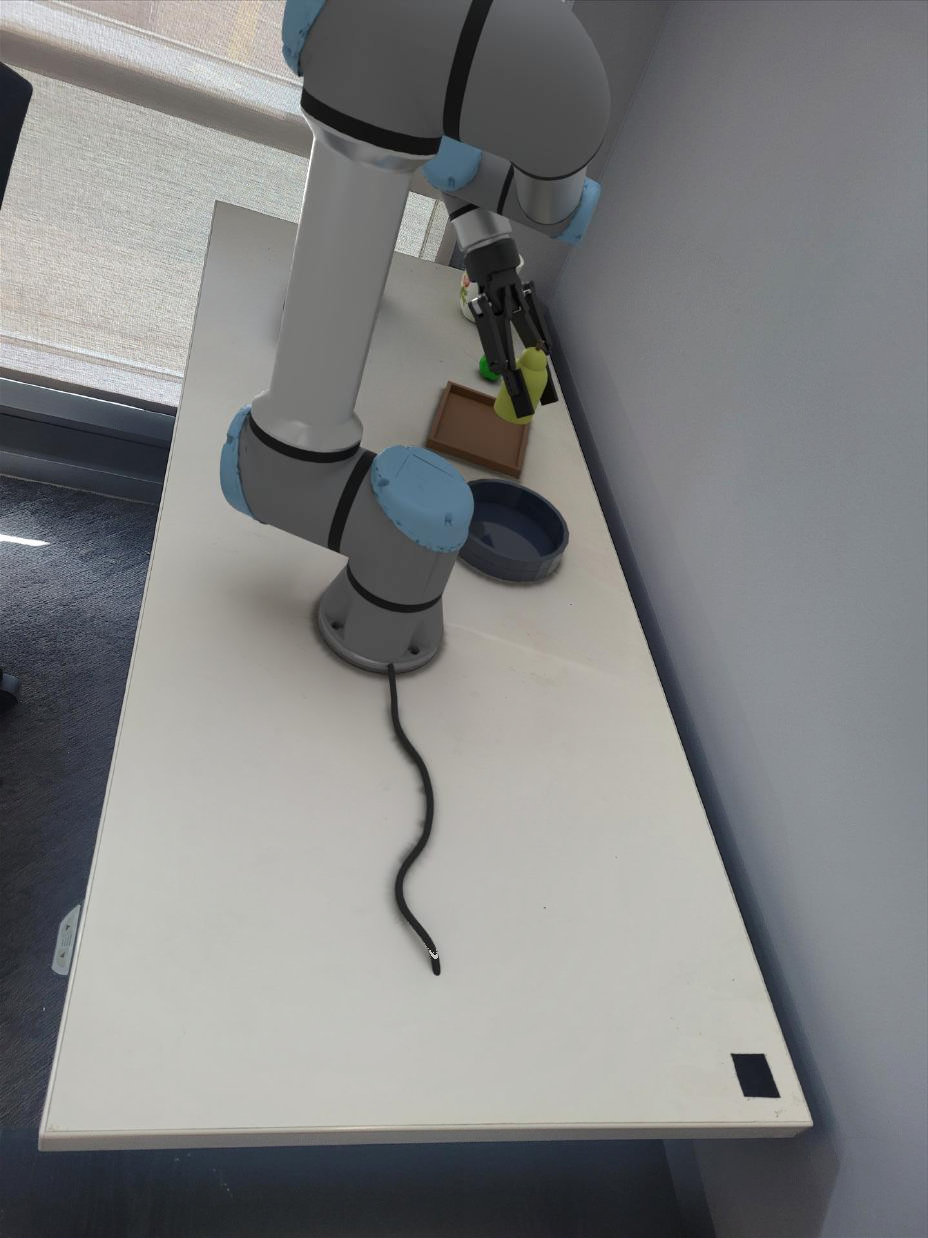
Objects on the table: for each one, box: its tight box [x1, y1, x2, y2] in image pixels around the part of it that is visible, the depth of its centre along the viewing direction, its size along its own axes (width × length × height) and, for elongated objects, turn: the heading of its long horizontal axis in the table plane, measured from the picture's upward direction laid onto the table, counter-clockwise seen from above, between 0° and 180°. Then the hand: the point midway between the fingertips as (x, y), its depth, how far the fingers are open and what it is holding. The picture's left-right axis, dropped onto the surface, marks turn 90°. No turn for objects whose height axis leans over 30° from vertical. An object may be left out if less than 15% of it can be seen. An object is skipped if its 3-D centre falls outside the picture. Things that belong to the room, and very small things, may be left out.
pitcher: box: [459, 253, 525, 324], centre depth 163 cm, size 11×18×14 cm, turn 6°
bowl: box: [458, 478, 570, 583], centre depth 118 cm, size 18×18×4 cm
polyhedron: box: [478, 353, 502, 381], centre depth 150 cm, size 5×5×5 cm
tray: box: [425, 380, 531, 479], centre depth 137 cm, size 20×16×2 cm
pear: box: [494, 340, 548, 424], centre depth 118 cm, size 6×6×12 cm
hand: (538, 409), depth 119 cm, fingers closed on pear, 6 cm apart
